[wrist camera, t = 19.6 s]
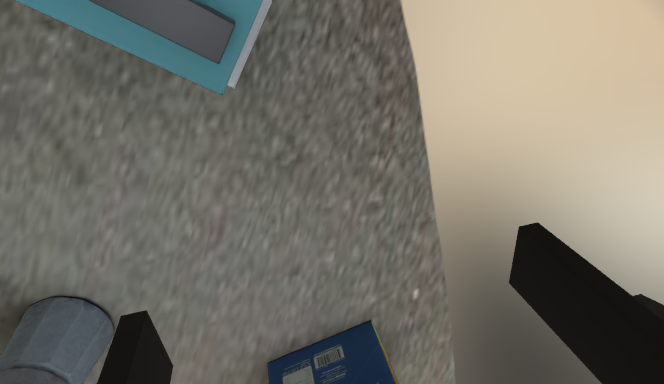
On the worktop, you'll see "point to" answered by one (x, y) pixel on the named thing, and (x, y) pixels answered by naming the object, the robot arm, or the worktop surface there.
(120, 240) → the worktop surface
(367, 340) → the protein box
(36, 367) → the moka pot
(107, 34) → the teal slab with bar
